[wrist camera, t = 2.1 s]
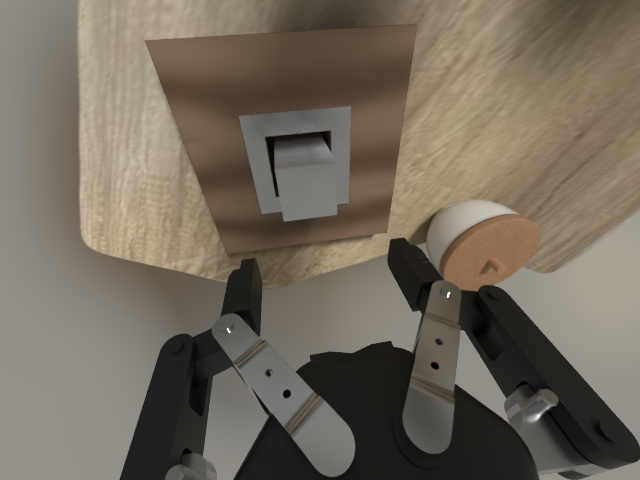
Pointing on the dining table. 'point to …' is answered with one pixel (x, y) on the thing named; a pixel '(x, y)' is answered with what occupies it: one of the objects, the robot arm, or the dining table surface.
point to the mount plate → (290, 123)
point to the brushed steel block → (305, 176)
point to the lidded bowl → (479, 243)
